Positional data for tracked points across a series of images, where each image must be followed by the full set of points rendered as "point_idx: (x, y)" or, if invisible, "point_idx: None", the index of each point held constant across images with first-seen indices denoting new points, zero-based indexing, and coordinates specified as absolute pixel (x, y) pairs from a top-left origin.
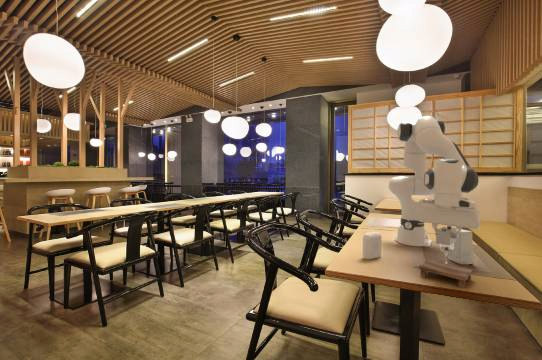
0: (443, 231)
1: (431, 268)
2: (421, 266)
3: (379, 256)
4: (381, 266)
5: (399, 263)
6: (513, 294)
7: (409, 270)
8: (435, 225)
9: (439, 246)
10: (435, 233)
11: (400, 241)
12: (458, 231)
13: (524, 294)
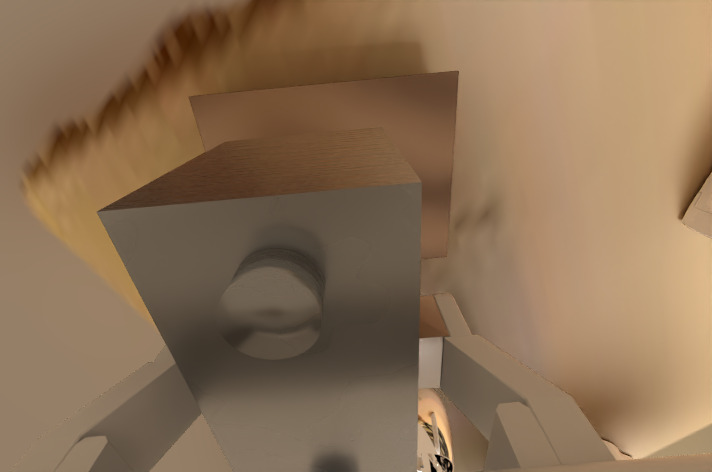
0: (250, 195)
1: (385, 99)
2: (445, 84)
3: (691, 208)
4: (663, 54)
5: (570, 200)
6: (91, 206)
7: (503, 132)
8: (517, 427)
9: (440, 400)
10: (453, 305)
11: (612, 450)
12: (104, 403)
13: (77, 240)
